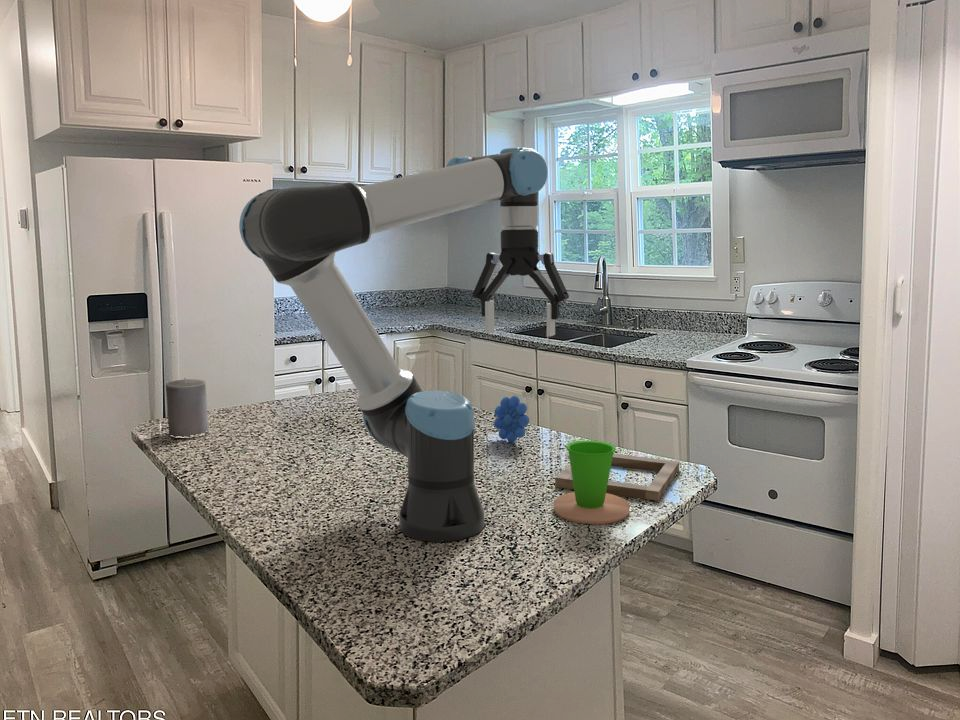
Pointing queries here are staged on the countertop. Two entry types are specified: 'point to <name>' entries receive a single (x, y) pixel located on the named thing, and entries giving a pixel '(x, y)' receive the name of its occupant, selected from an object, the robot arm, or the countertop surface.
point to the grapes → (511, 419)
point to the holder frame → (626, 489)
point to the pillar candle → (187, 407)
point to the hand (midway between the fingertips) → (519, 334)
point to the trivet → (591, 510)
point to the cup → (590, 471)
